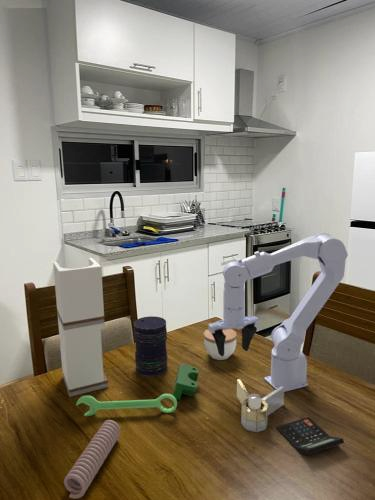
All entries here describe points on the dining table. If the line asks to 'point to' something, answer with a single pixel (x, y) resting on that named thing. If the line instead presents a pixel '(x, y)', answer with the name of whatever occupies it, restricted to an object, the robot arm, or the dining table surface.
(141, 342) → the storage jar
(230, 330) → the lidded jar
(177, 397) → the clamp
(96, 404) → the wrench
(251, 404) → the hinge pin
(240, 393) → the tan ring with arms
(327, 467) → the dining table surface
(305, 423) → the calculator
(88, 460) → the coil
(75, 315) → the grey boxy piece
